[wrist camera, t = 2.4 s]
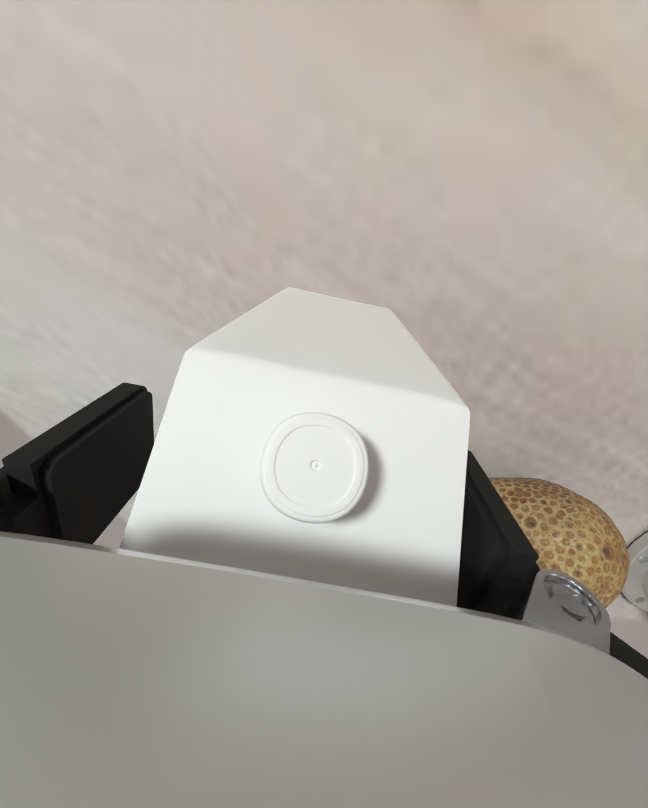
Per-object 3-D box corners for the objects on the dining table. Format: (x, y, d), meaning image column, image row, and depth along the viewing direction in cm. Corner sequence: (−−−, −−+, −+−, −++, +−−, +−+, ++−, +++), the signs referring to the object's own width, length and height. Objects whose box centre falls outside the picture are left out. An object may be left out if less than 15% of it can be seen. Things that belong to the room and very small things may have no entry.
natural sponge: (538, 536, 29) (624, 664, 20) (438, 527, 29) (480, 649, 20) (578, 452, 25) (707, 563, 16) (463, 442, 26) (527, 547, 17)
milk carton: (365, 403, 25) (411, 753, 7) (273, 383, 24) (101, 699, 7) (392, 308, 22) (576, 533, 4) (287, 285, 21) (46, 428, 4)
